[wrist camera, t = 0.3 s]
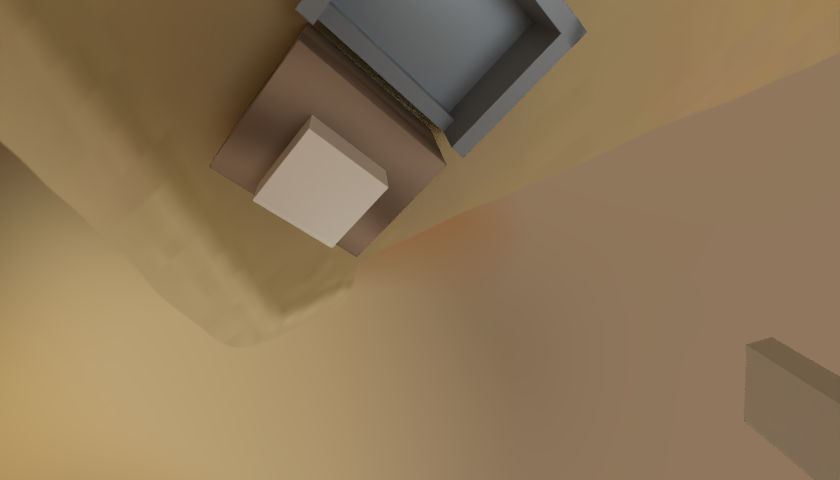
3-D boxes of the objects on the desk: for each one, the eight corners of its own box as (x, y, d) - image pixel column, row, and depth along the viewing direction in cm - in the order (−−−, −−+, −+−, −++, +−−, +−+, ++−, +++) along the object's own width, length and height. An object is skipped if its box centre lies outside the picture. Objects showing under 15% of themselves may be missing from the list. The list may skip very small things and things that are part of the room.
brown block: (308, 22, 29) (298, 39, 24) (430, 129, 35) (446, 165, 29) (233, 128, 33) (208, 166, 27) (355, 211, 38) (356, 257, 33)
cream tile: (312, 114, 26) (308, 128, 24) (385, 170, 29) (388, 187, 27) (259, 182, 28) (252, 200, 26) (332, 228, 31) (331, 248, 29)
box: (412, -160, 25) (428, -186, 20) (550, 18, 31) (587, 31, 27) (304, -1, 29) (295, 9, 24) (447, 128, 35) (463, 157, 30)
